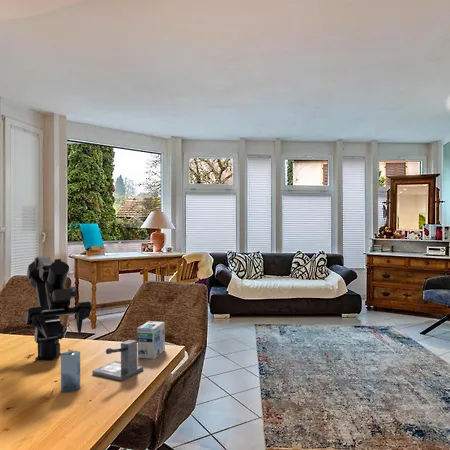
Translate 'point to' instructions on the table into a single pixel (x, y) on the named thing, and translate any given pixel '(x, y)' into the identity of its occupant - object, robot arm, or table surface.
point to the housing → (70, 371)
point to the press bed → (121, 363)
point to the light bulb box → (151, 339)
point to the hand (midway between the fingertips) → (64, 335)
